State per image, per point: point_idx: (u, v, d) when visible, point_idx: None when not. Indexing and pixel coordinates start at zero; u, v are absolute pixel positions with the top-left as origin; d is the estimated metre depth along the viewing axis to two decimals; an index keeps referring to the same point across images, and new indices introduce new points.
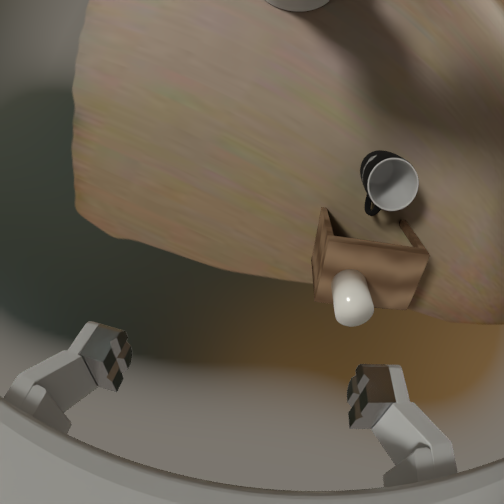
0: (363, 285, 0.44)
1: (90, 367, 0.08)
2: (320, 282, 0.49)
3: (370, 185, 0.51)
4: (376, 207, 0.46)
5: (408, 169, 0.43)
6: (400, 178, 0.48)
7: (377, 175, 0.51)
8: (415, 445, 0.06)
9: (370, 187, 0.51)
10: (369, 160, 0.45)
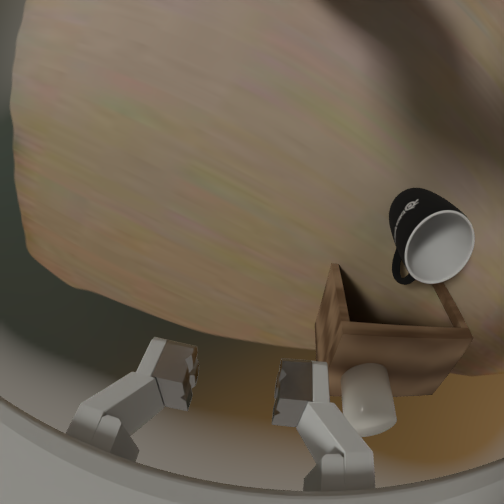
0: (385, 389, 0.28)
1: (162, 388, 0.08)
2: None
3: None
4: (411, 276, 0.31)
5: (459, 221, 0.28)
6: (443, 227, 0.32)
7: None
8: (331, 449, 0.07)
9: None
10: (407, 208, 0.29)
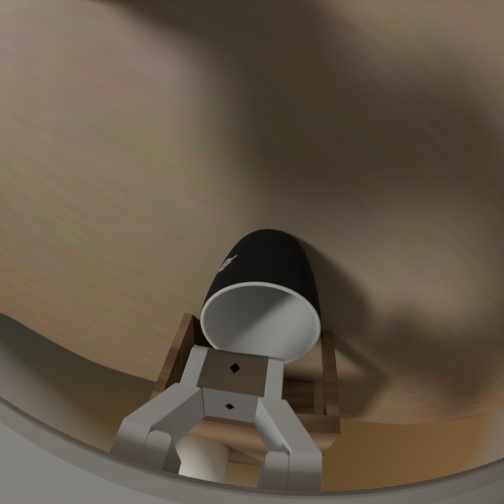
0: (206, 470, 0.23)
1: (206, 397, 0.08)
2: None
3: (253, 290, 0.30)
4: None
5: None
6: None
7: None
8: (280, 447, 0.07)
9: (250, 296, 0.30)
10: (221, 268, 0.24)
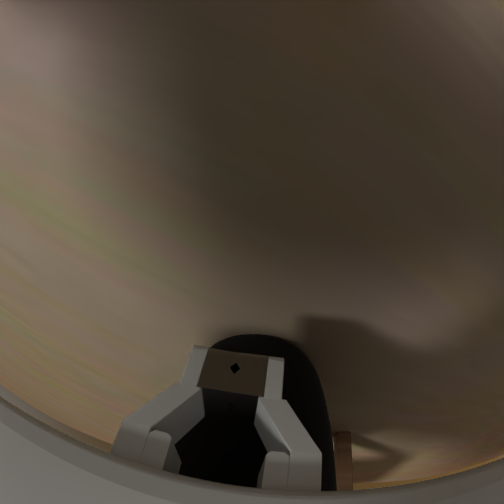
0: None
1: (206, 397, 0.08)
2: None
3: None
4: None
5: None
6: None
7: None
8: (281, 448, 0.07)
9: None
10: None
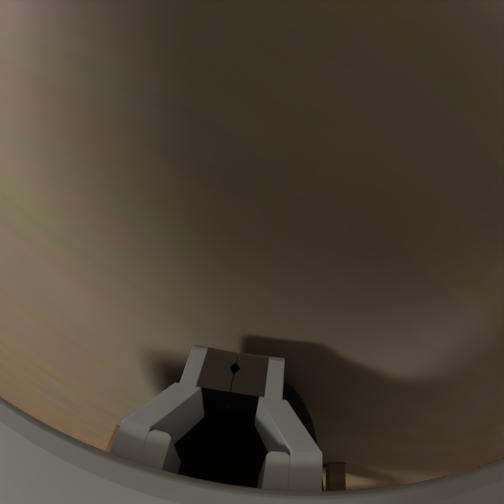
0: None
1: (206, 397, 0.08)
2: None
3: None
4: None
5: None
6: None
7: None
8: (281, 448, 0.07)
9: None
10: None
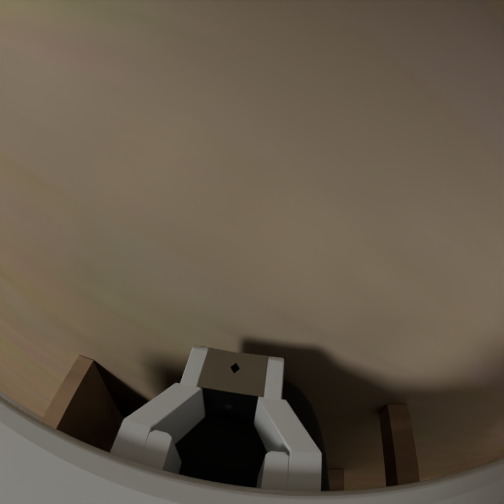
0: None
1: (206, 397, 0.08)
2: None
3: None
4: None
5: None
6: None
7: None
8: (280, 447, 0.07)
9: None
10: None
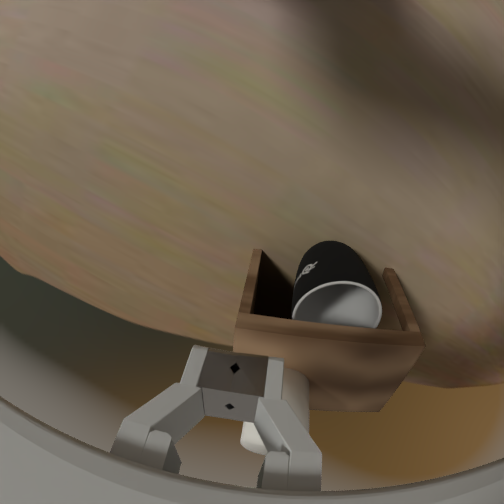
0: (295, 402, 0.24)
1: (206, 397, 0.08)
2: None
3: (315, 290, 0.37)
4: None
5: None
6: None
7: None
8: (281, 447, 0.07)
9: (313, 295, 0.36)
10: (304, 271, 0.30)
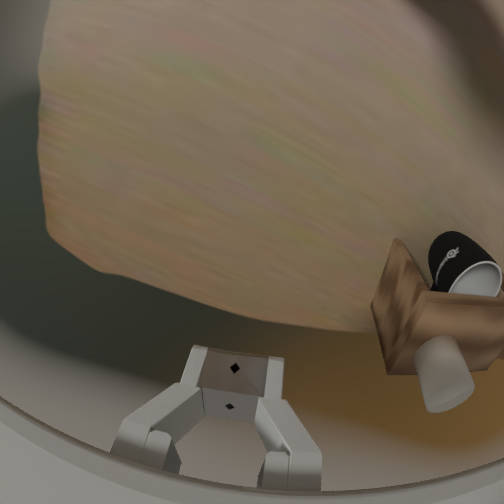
0: (462, 359, 0.25)
1: (206, 398, 0.08)
2: (401, 353, 0.30)
3: None
4: None
5: (489, 264, 0.30)
6: (473, 266, 0.34)
7: None
8: (280, 447, 0.07)
9: None
10: (449, 255, 0.31)
